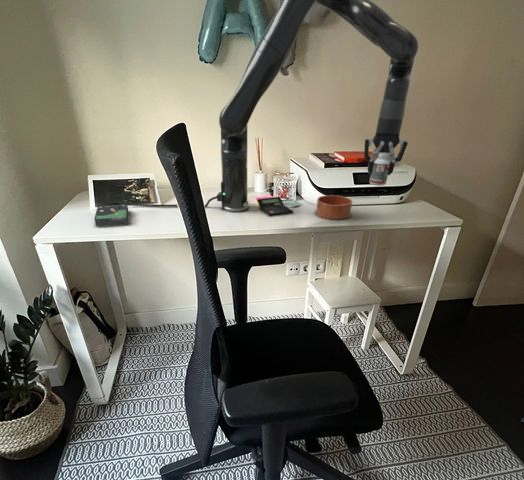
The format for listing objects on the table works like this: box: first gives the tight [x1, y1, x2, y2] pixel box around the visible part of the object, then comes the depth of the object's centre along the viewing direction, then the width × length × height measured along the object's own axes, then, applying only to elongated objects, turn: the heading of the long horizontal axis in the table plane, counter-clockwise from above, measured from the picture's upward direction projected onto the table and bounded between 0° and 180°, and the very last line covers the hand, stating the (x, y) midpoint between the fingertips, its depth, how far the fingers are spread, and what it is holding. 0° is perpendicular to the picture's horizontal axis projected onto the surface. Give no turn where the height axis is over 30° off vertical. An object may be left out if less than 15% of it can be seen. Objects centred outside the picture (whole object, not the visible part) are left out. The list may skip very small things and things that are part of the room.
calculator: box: [257, 196, 294, 217], centre depth 138 cm, size 9×12×3 cm
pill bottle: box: [369, 152, 391, 187], centre depth 125 cm, size 6×6×10 cm
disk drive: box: [94, 204, 130, 227], centre depth 126 cm, size 10×3×15 cm
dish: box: [315, 195, 353, 221], centre depth 135 cm, size 13×13×5 cm
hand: (379, 173), depth 126 cm, fingers closed on pill bottle, 5 cm apart
